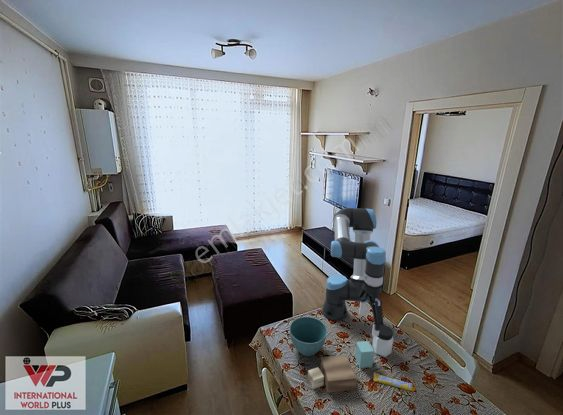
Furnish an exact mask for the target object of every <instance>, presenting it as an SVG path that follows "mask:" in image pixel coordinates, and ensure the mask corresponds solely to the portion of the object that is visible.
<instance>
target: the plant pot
mask: <svg viewBox="0 0 563 415" xmlns="http://www.w3.org/2000/svg"><path fill="white" fill-rule="evenodd" d="M289 334H290V335H289V336H290V339H291V343H292V344H293V346H294V348H295V350H296V351H298V353H300V354H301V355H303V356H305V357H312V356H314V355H316V354H317V353H318V352H319V351H321V349H322V348H323V346H324V344H325V342H326V339H327V334H328V328H327V326H326V325H325V323H324V322H323V321H322V320H320V319H317V318H315V317H311V316H301V317H300V316H299V317H298V318H295V319H294V320H292V322H291V323H290V325H289Z"/></svg>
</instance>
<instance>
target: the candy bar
mask: <svg viewBox="0 0 563 415" xmlns="http://www.w3.org/2000/svg"><path fill="white" fill-rule="evenodd" d="M373 381H374V382H377V383H380V384H382V385H383V384H384V385H387V386H389V387H390V386H391V387H394V388H399V389H401V390H405V391H410V392H413V393H414V392H415V391H416V388H415V386H414V385H415V384H414V382H408V381H403V380H399V379H396V378H392V377H388V376H385V375H383V374H378V373H376V372H373Z"/></svg>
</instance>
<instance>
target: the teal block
mask: <svg viewBox="0 0 563 415" xmlns="http://www.w3.org/2000/svg"><path fill="white" fill-rule="evenodd" d="M355 342H356V341H355ZM354 353H355V354H354V358H355V360H356V363H357V366H358V367H359V368H360V369H361V368H362V369H363V368H372V367H373V362H374V357H375V356H374V355H375V351H374V349H373V347H372V345H371V343H370V341H369V340H367V341H357V342H356V343H355V352H354Z"/></svg>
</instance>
